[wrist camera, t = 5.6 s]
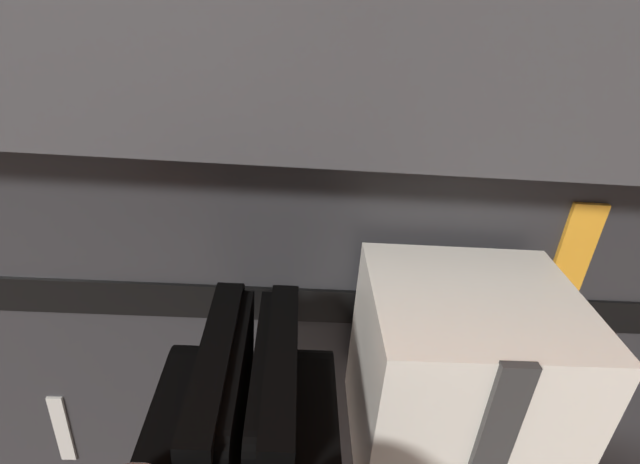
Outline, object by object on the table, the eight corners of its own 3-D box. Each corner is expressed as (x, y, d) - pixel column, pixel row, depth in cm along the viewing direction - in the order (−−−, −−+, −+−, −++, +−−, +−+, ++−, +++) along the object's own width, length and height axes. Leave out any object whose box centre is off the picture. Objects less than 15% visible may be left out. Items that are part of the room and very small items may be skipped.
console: (800, 10, 11) (1028, 27, 8) (598, 431, 18) (671, 544, 14) (-107, -59, 10) (-327, -76, 7) (32, 417, 17) (-41, 536, 13)
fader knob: (545, 248, 11) (652, 372, 7) (499, 387, 13) (569, 534, 9) (362, 240, 10) (389, 363, 7) (345, 382, 12) (359, 532, 9)
